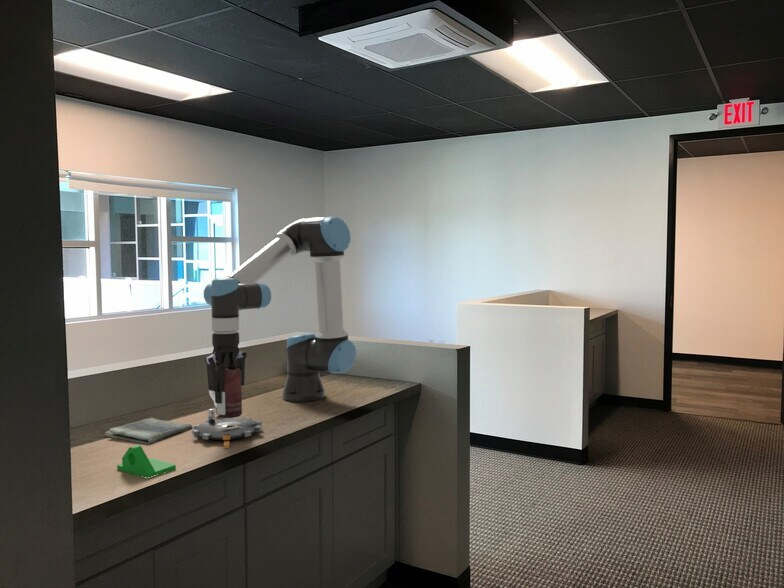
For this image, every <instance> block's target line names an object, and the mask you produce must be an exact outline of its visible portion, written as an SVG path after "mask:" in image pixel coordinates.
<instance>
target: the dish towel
mask: <svg viewBox="0 0 784 588" xmlns="http://www.w3.org/2000/svg"><path fill="white" fill-rule="evenodd" d="M191 429H192V430H193V429H194V426H193V425H192V424H191V423H181V422H174V421H170V420H162V419H157V418H154V417H150V418H143V419H140V420H139V421H138V420H137V421H135V422H130V423H126V424H123V425H121V426H120V425H119V426H114V427H112V428H109V430H107V431H105V433H104V437H106V438H111V437H112V438H111V439H117V438H119V439H118V440H123V439H124V440H125V441H130V442H134V443H135V442H136V443H142V444H146V445H150V444H154V443H157V442H160V441H162V440H165V439H167V438H170V437H174V436H176V435H178V434H182V433H184V432H187V431H189V430H191Z"/></svg>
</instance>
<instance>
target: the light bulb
mask: <svg viewBox="0 0 784 588" xmlns="http://www.w3.org/2000/svg"><path fill="white" fill-rule="evenodd" d="M208 394H209V396H210V398H211V399H212V401H213V405H214V409H215V415H217V416H219V417H222V416H221V414H217V403H216V402H215V392H214V391H211V390H209V389H208Z"/></svg>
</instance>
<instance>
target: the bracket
mask: <svg viewBox="0 0 784 588" xmlns="http://www.w3.org/2000/svg"><path fill="white" fill-rule="evenodd" d="M116 468H117V470H118V471H121V472H124V471H125V472H124V473H127V472H128V474H130V473H132V474H131V475H133V474H135V475H134V476H137V475H138V476H137V477H140V476H143V477H147V478H148V477H151V476H154V475H157V474H161V473H164V472H166V473H168V472H167V471H169V472H172V471H175V470H177V469H176V468H177V465H176V464H174V463H170V462H168V461H167V462H166V461H164V460H160V459H157V458H152V457H148V456H147V454H146V452H145V450H144V449H143V447H142V446H141V445H140V444H136V445H134V446H130V447H129V448H128V449H127V450H126V452H125V453H124V455H123V456H122V458H121V463H120V464H117V466H116ZM174 469H175V470H174ZM171 470H172V471H171ZM164 474H165V473H164ZM161 475H162V474H161ZM143 477H142V478H143Z"/></svg>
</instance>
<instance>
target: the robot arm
mask: <svg viewBox="0 0 784 588" xmlns="http://www.w3.org/2000/svg"><path fill="white" fill-rule="evenodd" d="M350 244H351V232H350V229H349V227H348V225H347V223H346V222H345V221H344V220H343V219H342V218H340V217H337V216H322V217H321V216H319V217H318V216H317V217H303V218H300V219H298V220H295V221H294V222H293V221H292V222H291V223H290V224H288V225H287V226H285V227H284V228H282V229H280V230H279V231H278V232H277V233H275V234H274V236H273V238H272V240H271V242H269V243H268V244H267V245H265V246H263V248H261V249H260V250H259V251H258V252H256V253H254V255H253V256H251V257H250V258H249V259H247V260H246V261H245V262H244V263H242V264H241V265H240V266H238V267H237V268H236V269H235V270H233V271H232V272H231V273H230V274H228V275H227V276H226V277H224V278H222V277H220V278H214V279H213V280H212V281H211V282H210V283H208V284H207V285H206V286H205V287H204V290H203V299H204V301H205V302H206V304H207V305H209V306H211V330H212V332H213V333H212V334H211V337H212V338H211V339H212V340H211V341H212V344H211V345H212V346H213V350H212V353H211V354H210V355H209V356H204V362H205V364H206V373H207V385H208V387H207V388H208V391H209V390H211V391H214V392H215V402H216V403H217V414H221V415H225V392H222V391H223V383H224V375H225V369H226V367H228V369H231V370H235V369H236V367H239V368H240V370H241V387H242V386H244V385H245V375H246V374H245V369H246V358H247V355H248V352H246V351H242V350H240V348H239V345H240V333H239V332H238V331H240V313H239V312H240V311H241V310H243V311H244V310H255V309H258V310H259V309H262V308H266V307H267V306H269V304H270V303H271V300H272V290H271V289H270V288H269V286H268V285H267V284H265V283H258V282H259V281H261V280H262V279H263V278H264V277H266V276H267V275H268V274H269V273H270V272H272V270H274V269H275V268H276V267H278V266H279V265H280V264H281V263H282V262H284V261H285V260H286V259H289V258H293V257H295V256H296V255H297V254H299V253H302V252H309V257H310V259H312V260H313V261H314V266H315V267H314V268H315V269H314V270H315V285H316V287H315V288H316V289H315V290H316V305H317V321H318V331H317V332H312V333H302V334H296V335H295V334H294V335H291V336H288V338H287V340H286V370H287V372H286V373H287V375H286V380H285V382H284V383H285V384H284V387H283V391H282V399H283V400H285V401H288V402H299V403H300V402H303V403H304V402H313V401H319V400H321V399H324V398H325V395H326V394H325V393H326V391H325V387H324V384H323V381H322V379H321V376H320V375H321V373H320V372H322V373H323V372H324V373H329V374H345V373H347V372H348V371H349V370H350V369H351V368H352V366H353V365H354V363H355V359H356V355H357V353H356V352H357V350H356V346H355V344H354V343H353V341H351V340H349V334H348V332H347V331H346V330H345V329H344V317H343V315H344V314H343V297H342V296H343V295H342V294H343V293H342V278H341V277H342V274H341V273H342V272H341V260H342V259H343V258H344V256H345V251H346V250H347V249H349V246H350ZM217 414H216V415H217Z"/></svg>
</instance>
